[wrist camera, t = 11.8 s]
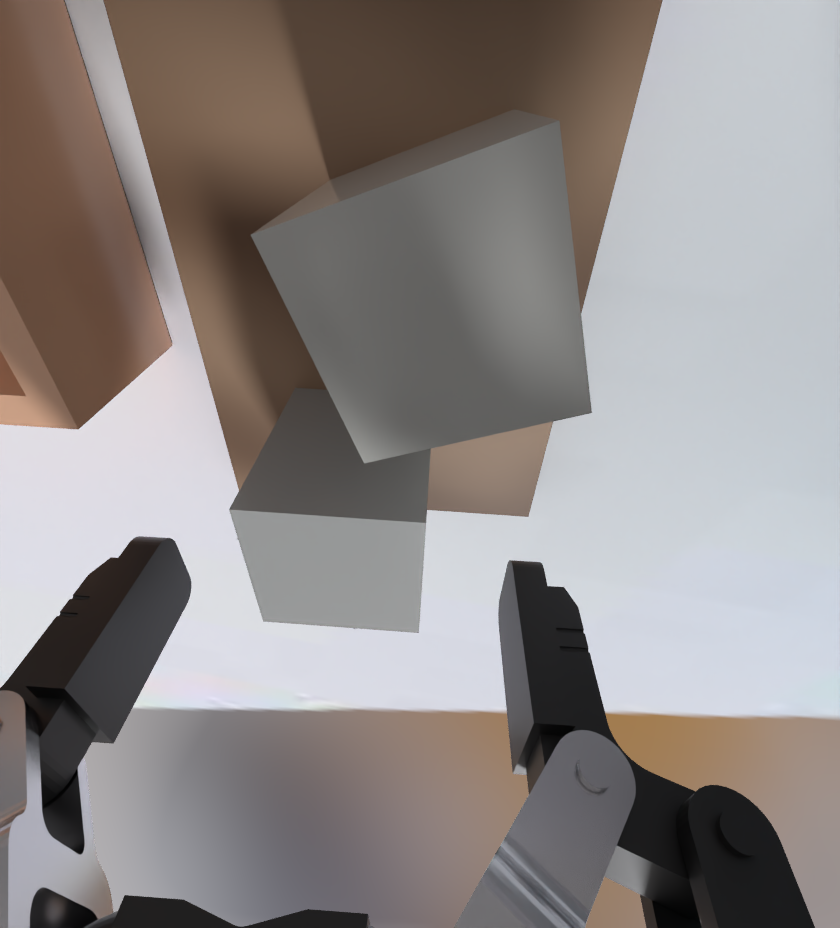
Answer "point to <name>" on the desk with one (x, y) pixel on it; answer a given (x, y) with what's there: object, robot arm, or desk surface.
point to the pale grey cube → (440, 288)
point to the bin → (63, 235)
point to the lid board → (357, 160)
